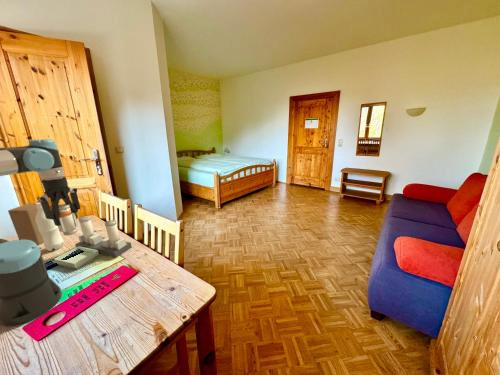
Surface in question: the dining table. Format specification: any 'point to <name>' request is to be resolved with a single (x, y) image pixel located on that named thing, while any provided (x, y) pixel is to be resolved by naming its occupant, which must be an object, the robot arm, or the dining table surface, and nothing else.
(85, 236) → the fuse far
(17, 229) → the wooden block
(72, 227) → the marked fuse
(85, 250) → the tray
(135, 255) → the dining table surface
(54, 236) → the water bottle
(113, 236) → the cylinder
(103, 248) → the block
